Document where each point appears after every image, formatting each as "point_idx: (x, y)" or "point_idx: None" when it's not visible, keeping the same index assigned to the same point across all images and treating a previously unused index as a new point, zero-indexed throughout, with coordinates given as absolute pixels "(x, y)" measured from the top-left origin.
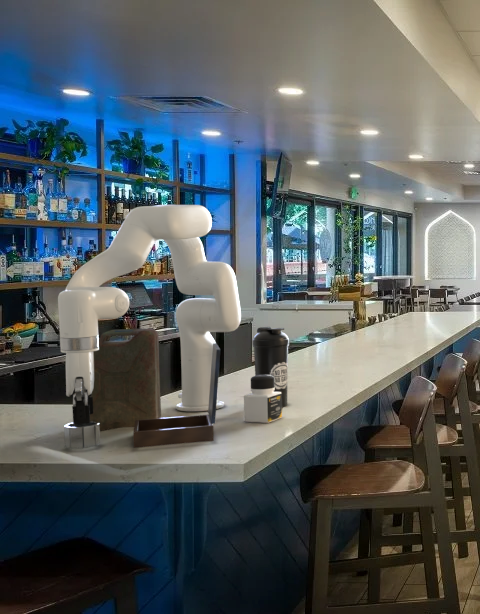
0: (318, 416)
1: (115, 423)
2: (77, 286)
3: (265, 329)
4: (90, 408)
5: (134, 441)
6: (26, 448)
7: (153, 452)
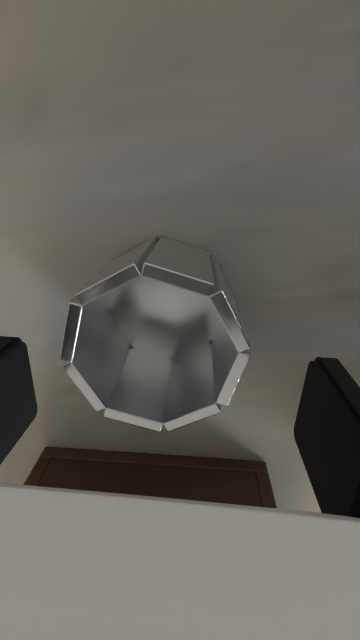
0: None
1: None
2: None
3: None
4: (308, 454)
5: (30, 476)
6: (311, 20)
7: None
